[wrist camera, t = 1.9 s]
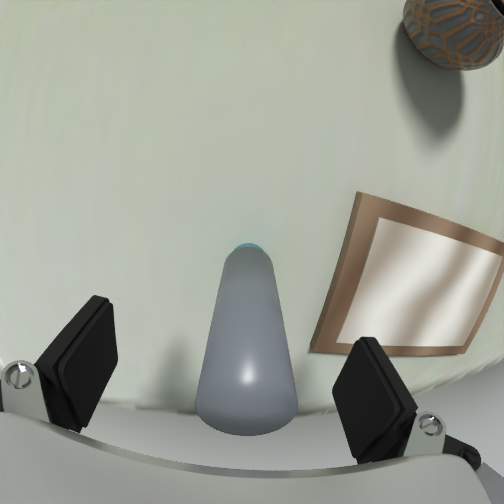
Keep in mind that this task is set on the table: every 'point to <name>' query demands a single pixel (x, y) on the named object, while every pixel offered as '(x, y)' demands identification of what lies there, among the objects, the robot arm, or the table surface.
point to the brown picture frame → (408, 282)
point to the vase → (456, 31)
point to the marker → (247, 352)
